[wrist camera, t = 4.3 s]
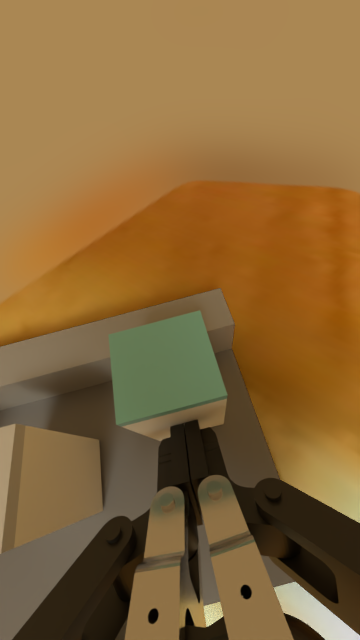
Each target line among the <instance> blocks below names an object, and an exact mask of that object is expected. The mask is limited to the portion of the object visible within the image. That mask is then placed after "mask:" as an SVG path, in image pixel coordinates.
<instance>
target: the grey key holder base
mask: <svg viewBox="0 0 360 640" xmlns="http://www.w3.org/2000/svg"><path fill="white" fill-rule="evenodd" d="M199 310H200V312H201V315H202V318H203V321H204V324H205V327H206V330H207V333H208V336H209V340H210V343H211V346H212V349H213V352H214V355H215V358H216V361H217V364H218V367H219V370H220V373H221V376H222V380H223V383H224V386H225V389H226V392H227V402H226V410H225V417H224V424H222V425H218V426H214V427H210V428H211V429H212V430H213V431H214V432H215V433H216V436H217V439H218V443H219V446H220V450H221V453H222V456H223V460H224V463H225V467H226V470H227V473H228V476H229V478H230V479H231V480H232V481H233V482H234V483H235V484H237V485H239V486H242V487H251V488H255V486H256V484H257V483H258V482H259V481H261V480H263V479H265V478H276V479H279V480H280V478H279V475H278V472H277V470H276V467H275V464H274V462H273V459H272V456H271V453H270V451H269V448H268V445H267V443H266V440H265V437H264V435H263V432H262V429H261V426H260V424H259V421H258V418H257V416H256V413H255V410H254V407H253V405H252V402H251V399H250V397H249V394H248V391H247V389H246V386H245V383H244V380H243V378H242V375H241V372H240V370H239V367H238V364H237V361H236V359H235V356H234V353H233V351H232V343H233V334H234V326H235V323H234V321H233V318H232V316H231V313H230V311H229V308H228V306H227V303H226V301H225V298H224V296H223V293H222V291H221V288H219V289H215V290H211V291H207V292H204V293H200V294H196V295H192V296H189V297H185V298H181V299H177V300H174V301H170V302H166V303H162V304H159V305H155V306H151V307H147V308H144V309H140V310H136V311H133V312H129V313H125V314H121V315H118V316H114V317H110V318H106V319H103V320H99V321H95V322H91V323H88V324H84V325H80V326H76V327H73V328H69V329H65V330H61V331H58V332H54V333H50V334H46V335H43V336H39V337H35V338H31V339H28V340H24V341H20V342H16V343H13V344H9V345H5V346H1V347H0V428H1V427H5V426H8V425H12V424H20V425H25V426H31V427H36V428H41V429H46V430H51V431H56V432H62V433H67V434H72V435H77V436H82V437H87V438H93V439H98V440H99V444H100V464H101V484H102V503H103V511H102V512H99V513H97V514H95V515H92V516H90V517H87V518H85V519H83V520H80V521H78V522H76V523H73V524H71V525H68V526H66V527H64V528H61V529H59V530H56V531H54V532H52V533H49V534H47V535H44V536H42V537H40V538H37V539H35V540H33V541H30V542H28V543H25V544H23V545H21V546H18V547H16V548H13V549H11V550H9V551H6V552H4V553H2V554H0V640H12V639H13V638H14V636H15V635H16V634H17V633H18V631H19V630H20V629H21V628H22V626H23V625H24V624H25V623H26V621H27V620H28V619H29V618H30V617H31V615H32V614H33V613H34V612H35V610H36V609H37V608H38V607H39V605H40V604H41V603H42V602H43V600H44V599H45V598H46V597H47V595H48V594H49V593H50V592H51V590H52V589H53V588H54V587H55V585H56V584H57V583H58V582H59V580H60V579H61V578H62V577H63V575H64V574H65V573H66V572H67V570H68V569H69V568H70V567H71V565H72V564H73V563H74V562H75V561H76V559H77V558H78V557H79V556H80V554H81V553H82V552H83V551H84V549H85V548H86V547H87V546H88V544H89V543H90V542H91V541H92V539H93V538H94V537H95V536H96V534H97V533H98V532H99V531H100V529H101V528H102V527H103V526H104V525H105V524H106V523H107V522H108V521H109V520H111V519H112V518H114V517H117V516H126V517H128V518H129V519H130V520H131V521H133V520H134V519H136V518H138V517H139V516H141V515H142V514H144V513H145V512H146V511H148V510H149V508H150V507H151V502H152V500H153V498H154V496H155V495H156V494H157V476H158V448H159V446H160V444H161V441H158V440H156V439H153V438H150V437H147V436H145V435H142V434H139V433H137V432H134V431H131V430H129V429H126V428H123V427H121V426H118V425H116V418H115V406H114V394H113V383H112V371H111V359H110V348H109V336H108V335H109V334H113V333H116V332H120V331H124V330H128V329H131V328H135V327H139V326H143V325H146V324H150V323H154V322H158V321H161V320H165V319H169V318H173V317H176V316H180V315H184V314H188V313H191V312H195V311H199ZM201 515H202V514H201ZM202 522H203V525H199V526H197V529H198V537H199V545H200V555H201V572H202V589H203V606H205V605H209V604H213V603H216V602H220V597H219V592H218V588H217V583H216V579H215V574H214V570H213V565H212V561H211V556H210V551H209V549H210V547H209V542H208V538H207V533H206V529H205V524H204V521H203V518H202ZM261 558H262V560H263V563H264V565H265V568H266V570H267V573H268V575H269V578H270V581H271V583H272V586H273V587H276V586H280V585H284V584H288V583H291V582H295V581H294V580H293V579H292V578H291V577H290V576H288V575H287V574H286V573H285V572H284V571H282V570H281V569H280V568H279V567H278V566H276V565H275V564H274V563H273V562H272V561H271V559H270V558H269V556H263V555H261Z"/></svg>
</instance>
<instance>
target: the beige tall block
mask: <svg viewBox="0 0 360 640" xmlns="http://www.w3.org/2000/svg"><path fill="white" fill-rule="evenodd" d="M102 511H103V503H102V484H101V464H100V444H99V440H98V439H93V438H87V437H82V436H77V435H72V434H67V433H62V432H56V431H51V430H46V429H41V428H36V427H31V426H25V425H20V424H12V425H8V426H5V427H1V428H0V554H2V553H4V552H6V551H9V550H11V549H13V548H16V547H18V546H21V545H23V544H25V543H28V542H30V541H33V540H35V539H37V538H40V537H42V536H44V535H47V534H49V533H52V532H54V531H56V530H59V529H61V528H64V527H66V526H68V525H71V524H73V523H76V522H78V521H80V520H83V519H85V518H87V517H90V516H92V515H95V514H97V513H99V512H102Z"/></svg>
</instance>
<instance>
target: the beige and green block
mask: <svg viewBox="0 0 360 640" xmlns="http://www.w3.org/2000/svg"><path fill="white" fill-rule="evenodd" d="M108 336H109V348H110V359H111V371H112V383H113V394H114V406H115V418H116V425H118V426H121V427H123V428H126V429H129V430H131V431H134V432H137V433H139V434H142V435H145V436H147V437H150V438H153V439H156V440H158V441H162V439H166V438H170V427H171V426H175V425H178V424H182V423H184V425H185V423H186V422H190V421H194V420H197V419H198V422H199V426H200V429H204V428H208V427H214V426H218V425H222V424H224V417H225V410H226V402H227V392H226V389H225V386H224V383H223V380H222V376H221V373H220V370H219V367H218V364H217V361H216V358H215V355H214V352H213V349H212V346H211V343H210V340H209V336H208V333H207V330H206V327H205V324H204V321H203V318H202V315H201V312H200V310H199V311H195V312H191V313H188V314H184V315H180V316H176V317H173V318H169V319H165V320H161V321H158V322H154V323H150V324H146V325H143V326H139V327H135V328H131V329H128V330H124V331H120V332H116V333H113V334H109V335H108Z"/></svg>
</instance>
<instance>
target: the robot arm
mask: <svg viewBox="0 0 360 640" xmlns="http://www.w3.org/2000/svg"><path fill="white" fill-rule="evenodd" d="M201 514H202V515H201ZM202 518H203V521H204V524H205V529H206V533H207V538H208V542H209V547H210V549H209V551H210V556H211V561H212V565H213V570H214V574H215V579H216V583H217V588H218V592H219V597H220V601H221V606H222V611H223V615H224V616H223V617H222V618H221V619H219V620H218V621H216V622H215V623H213V624H212V625H210V626H209V627H206V622H205V616H204V606H203V589H202V572H201V555H200V545H199V537H198V529H197V526H199V525H203V522H202ZM261 555H263V556H269V558H270V559H271V561H272V562H273V563H274V564H275V565H276V566H278V567H279V568H280V569H281V570H282V571H284V572H285V573H286V574H287V575H288V576H290V577H291V578H292V579H293V580H294V581H295V582H297V583H298V584H299V585H300V586H301V587H303V588H304V589H305V590H306V591H307V592H309V593H310V594H311V595H312V596H313V597H315V598H316V599H317V600H318V601H319V602H321V603H322V604H323V605H324V606H325V607H327V608H328V609H329V610H330V611H331V612H332V613H334V614H335V615H336V616H337V617H338V618H340V619H341V620H342V621H343V622H344V623H346V624H347V625H348V626H349V627H350V628H352V629H353V630H354V631H355V632H356V633H358V634H359V635H360V523H358V522H356V521H355V520H353V519H351V518H349V517H347V516H345V515H344V514H342V513H340V512H338V511H336V510H334V509H333V508H331V507H329V506H327V505H325V504H324V503H322V502H320V501H318V500H316V499H314V498H313V497H311V496H309V495H307V494H305V493H304V492H302V491H300V490H298V489H296V488H294V487H293V486H291V485H289V484H287V483H285V482H284V481H282V480H279V479H276V478H265V479H263V480H261V481H259V482H258V483H257V484H256V486H255V488H251V487H242V486H239V485H237V484H235V483H234V482H233V481H232V480H231V479H230V478H229V476H228V473H227V470H226V467H225V463H224V460H223V456H222V453H221V450H220V446H219V443H218V439H217V436H216V433H215V432H214V431H213V430H212V429H211V428H210V427H208V428H204V429H200V426H199V422H198V419H197V420H194V421H190V422H186V423H185V425H184V423H182V424H178V425H175V426H171V427H170V438H166V439H162V441H161V444H160V446H159V448H158V476H157V494H156V495H155V496H154V498H153V500H152V502H151V507H150V508H149V510H148V511H146V512H145V513H144V514H142V515H141V516H139V517H138V518H136V519H134V520H133V521H131V520H130V519H129V518H128V517H126V516H117V517H114V518H112V519H111V520H109V521H108V522H107V523H106V524H105V525H104V526H103V527H102V528H101V529H100V531H99V532H98V533H97V534H96V536H95V537H94V538H93V539H92V541H91V542H90V543H89V544H88V546H87V547H86V548H85V549H84V551H83V552H82V553H81V554H80V556H79V557H78V558H77V559H76V561H75V562H74V563H73V564H72V565H71V567H70V568H69V569H68V570H67V572H66V573H65V574H64V575H63V577H62V578H61V579H60V580H59V582H58V583H57V584H56V585H55V587H54V588H53V589H52V590H51V592H50V593H49V594H48V595H47V597H46V598H45V599H44V600H43V602H42V603H41V604H40V605H39V607H38V608H37V609H36V610H35V612H34V613H33V614H32V615H31V617H30V618H29V619H28V620H27V621H26V623H25V624H24V625H23V626H22V628H21V629H20V630H19V631H18V633H17V634H16V635H15V636H14V638H13V639H12V640H325V639H324V638H323V637H322V636H321V635H320V634H319V633H317V632H316V631H315V630H314V629H312V628H311V627H310V626H309V625H307V624H306V623H304V622H302V621H301V620H299V619H297V618H295V617H293V616H291V615H288V614H285V613H283V611H282V609H281V606H280V603H279V601H278V598H277V596H276V593H275V591H274V588H273V586H272V583H271V581H270V578H269V575H268V573H267V570H266V568H265V565H264V563H263V560H262V558H261Z"/></svg>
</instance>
